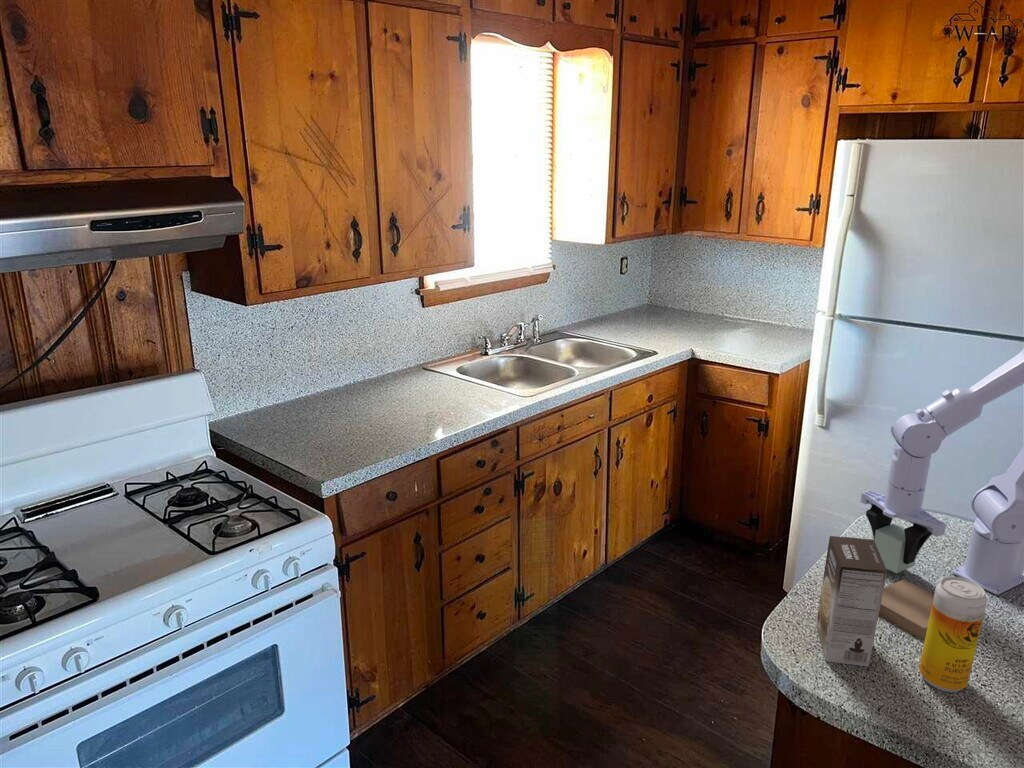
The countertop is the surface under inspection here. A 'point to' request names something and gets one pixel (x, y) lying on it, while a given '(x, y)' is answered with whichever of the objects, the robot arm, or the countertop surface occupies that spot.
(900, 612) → the walnut board
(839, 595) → the coffee box
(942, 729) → the countertop surface
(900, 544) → the sage block
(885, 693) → the countertop surface
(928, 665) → the beer can
